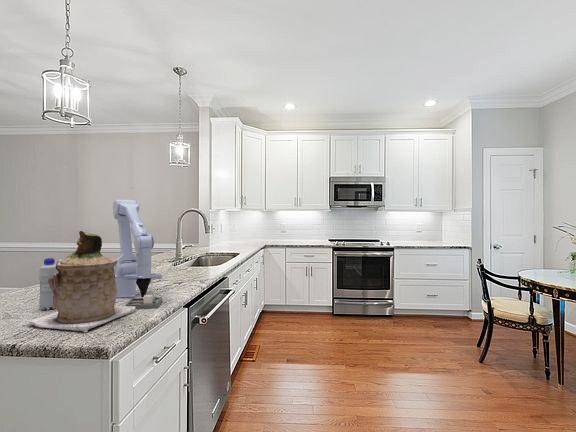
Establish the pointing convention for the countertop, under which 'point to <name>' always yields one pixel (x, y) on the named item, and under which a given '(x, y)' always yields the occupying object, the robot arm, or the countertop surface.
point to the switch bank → (139, 304)
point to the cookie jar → (83, 289)
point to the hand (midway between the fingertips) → (143, 296)
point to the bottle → (46, 284)
